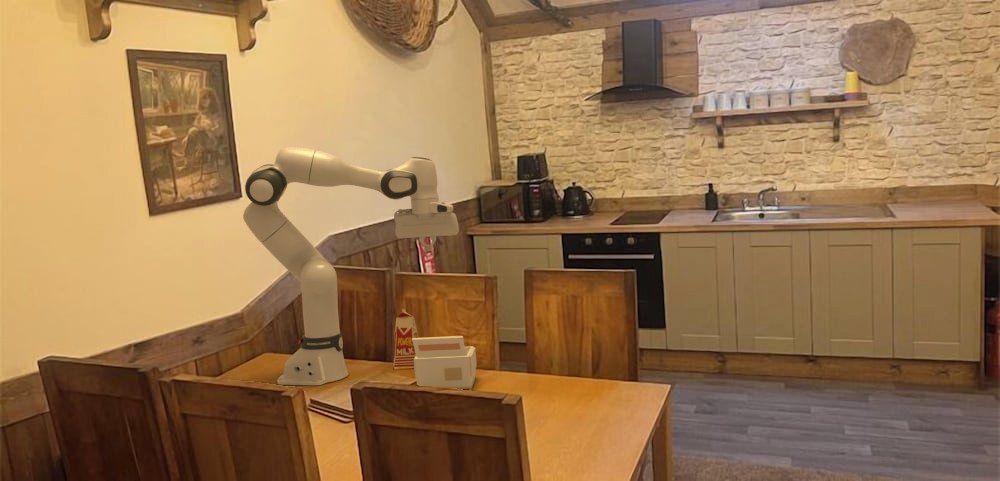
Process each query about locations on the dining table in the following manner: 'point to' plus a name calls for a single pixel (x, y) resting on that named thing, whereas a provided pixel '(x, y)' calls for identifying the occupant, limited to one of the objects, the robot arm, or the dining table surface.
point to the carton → (447, 370)
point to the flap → (439, 346)
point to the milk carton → (404, 340)
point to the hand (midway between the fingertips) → (428, 250)
